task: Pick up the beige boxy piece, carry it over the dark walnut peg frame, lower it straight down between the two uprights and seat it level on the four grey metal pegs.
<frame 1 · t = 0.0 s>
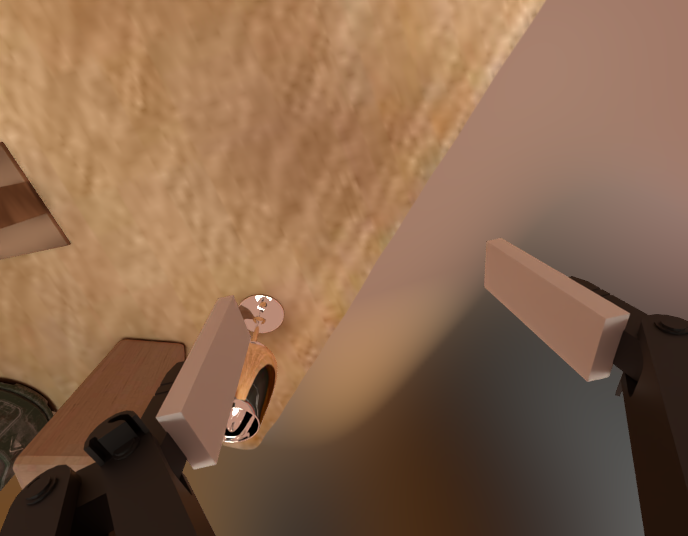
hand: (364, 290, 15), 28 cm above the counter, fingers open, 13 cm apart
block: (156, 360, 50), on the counter
canister: (7, 407, 51), on the counter
wineglass: (261, 313, 48), on the counter
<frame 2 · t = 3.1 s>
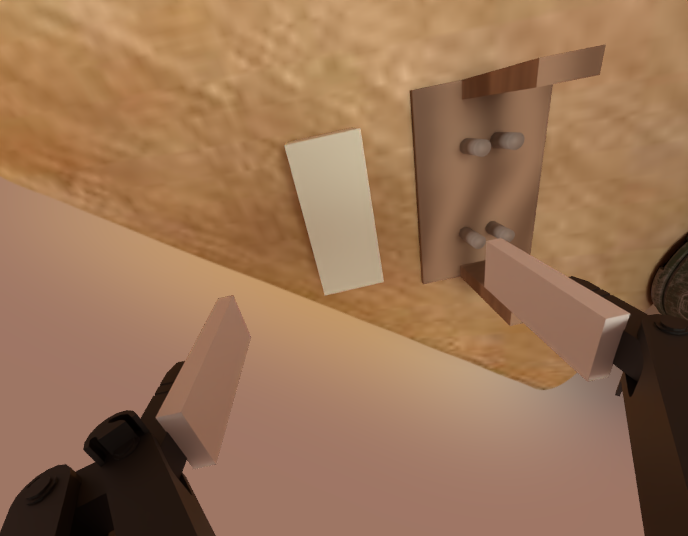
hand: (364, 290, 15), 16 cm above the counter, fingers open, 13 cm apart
beige boxy piece: (335, 207, 30), on the counter
peg frame: (477, 188, 30), on the counter
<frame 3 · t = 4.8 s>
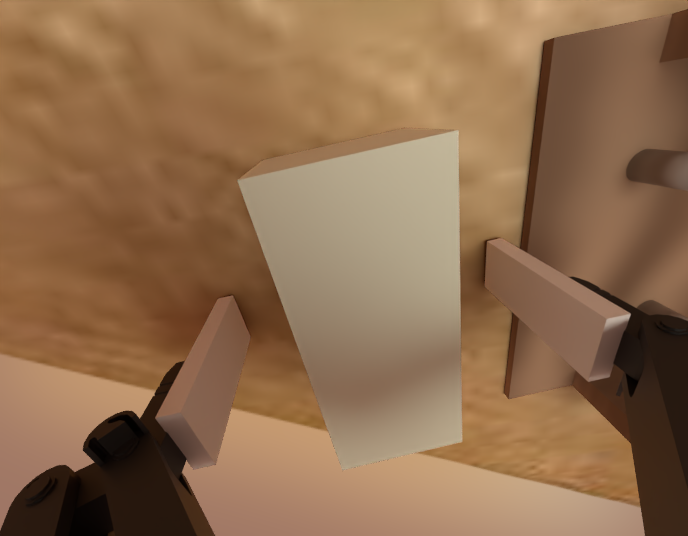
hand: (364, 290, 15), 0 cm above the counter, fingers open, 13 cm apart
beige boxy piece: (361, 284, 15), on the counter
peg frame: (633, 244, 16), on the counter
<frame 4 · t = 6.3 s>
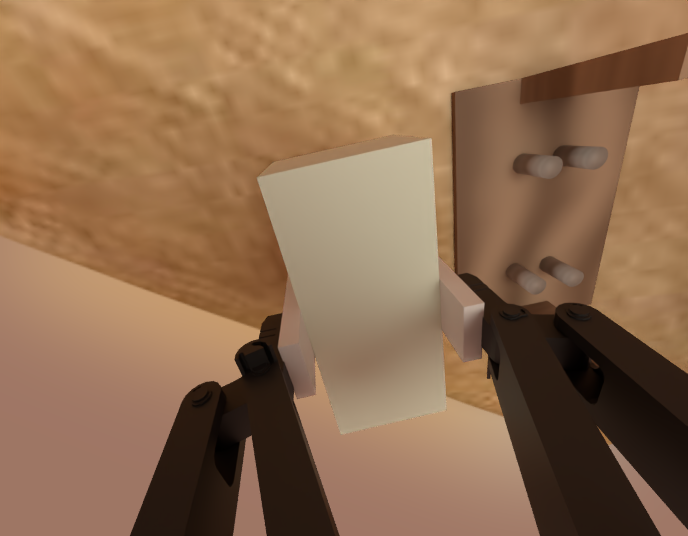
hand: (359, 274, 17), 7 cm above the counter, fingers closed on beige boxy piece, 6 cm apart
beige boxy piece: (358, 272, 17), point 6 cm above the counter, touching gripper
peg frame: (531, 216, 24), on the counter
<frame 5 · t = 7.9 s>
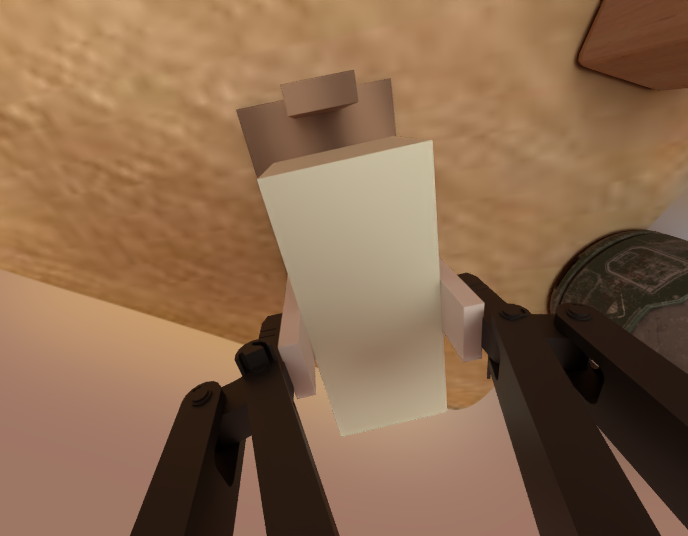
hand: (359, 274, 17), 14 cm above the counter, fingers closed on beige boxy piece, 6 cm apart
block: (645, 13, 24), on the counter
canister: (603, 284, 37), on the counter
beige boxy piece: (358, 273, 17), point 13 cm above the counter, touching gripper
peg frame: (336, 209, 29), on the counter
when the fingers open (3 cm above the counter, at t = 9.7 s): beige boxy piece stays where it is, resting on peg frame.
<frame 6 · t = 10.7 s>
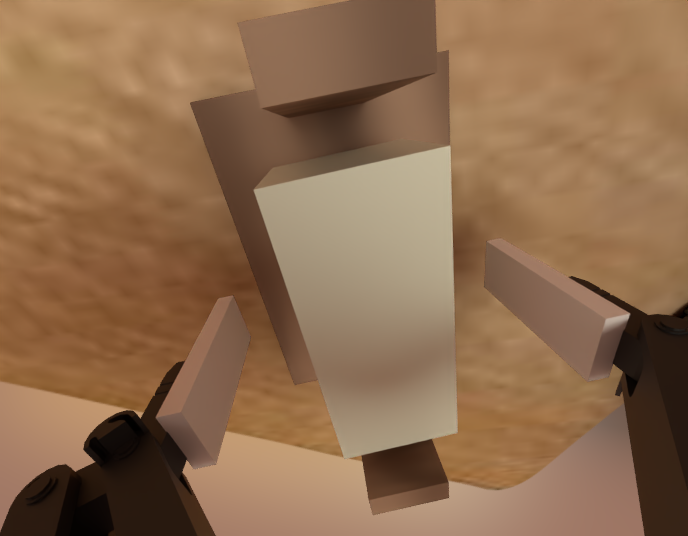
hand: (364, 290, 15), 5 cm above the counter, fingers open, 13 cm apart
beige boxy piece: (362, 284, 16), point 3 cm above the counter, touching peg frame
peg frame: (352, 254, 19), on the counter
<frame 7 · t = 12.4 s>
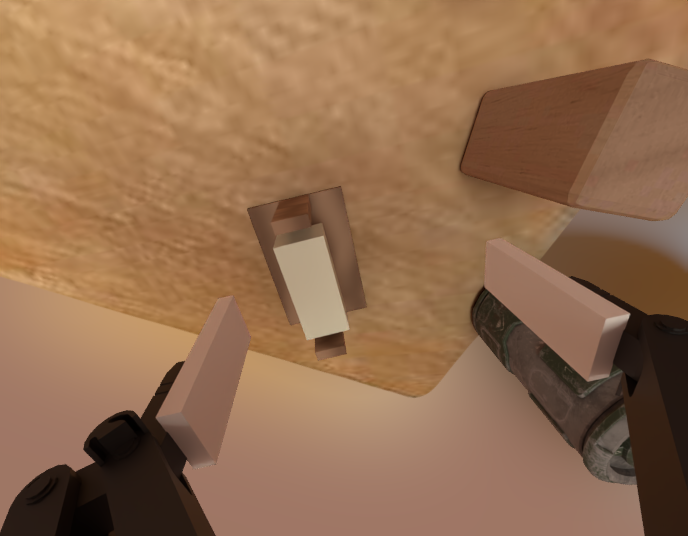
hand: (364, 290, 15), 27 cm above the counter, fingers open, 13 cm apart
block: (501, 139, 39), on the counter
canister: (511, 303, 51), on the counter
beige boxy piece: (314, 274, 41), point 3 cm above the counter, touching peg frame
peg frame: (313, 261, 44), on the counter
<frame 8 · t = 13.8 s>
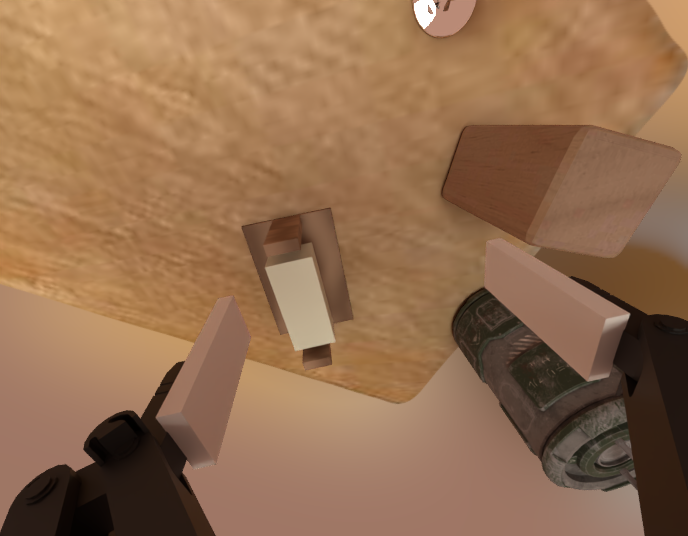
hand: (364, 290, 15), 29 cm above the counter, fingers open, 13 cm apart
block: (479, 169, 42), on the counter
canister: (490, 317, 55), on the counter
beige boxy piece: (303, 289, 43), point 3 cm above the counter, touching peg frame
peg frame: (303, 276, 46), on the counter
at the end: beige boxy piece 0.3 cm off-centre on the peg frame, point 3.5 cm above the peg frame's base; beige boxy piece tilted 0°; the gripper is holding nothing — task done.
